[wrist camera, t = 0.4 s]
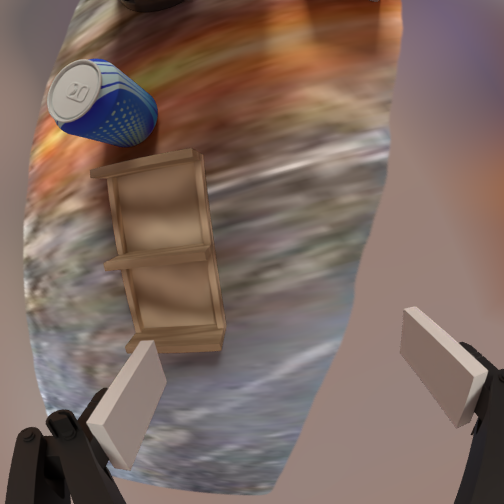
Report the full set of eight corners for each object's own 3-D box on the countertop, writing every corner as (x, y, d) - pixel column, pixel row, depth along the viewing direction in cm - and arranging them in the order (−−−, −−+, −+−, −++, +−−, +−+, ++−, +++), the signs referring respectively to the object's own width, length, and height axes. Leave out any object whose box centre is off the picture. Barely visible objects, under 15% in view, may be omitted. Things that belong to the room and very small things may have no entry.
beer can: (118, 159, 38) (51, 148, 22) (100, 111, 37) (34, 84, 21) (169, 129, 37) (120, 98, 22) (148, 82, 36) (97, 36, 20)
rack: (114, 171, 38) (89, 170, 31) (203, 155, 38) (191, 148, 31) (143, 330, 43) (126, 353, 36) (226, 325, 43) (221, 350, 36)
